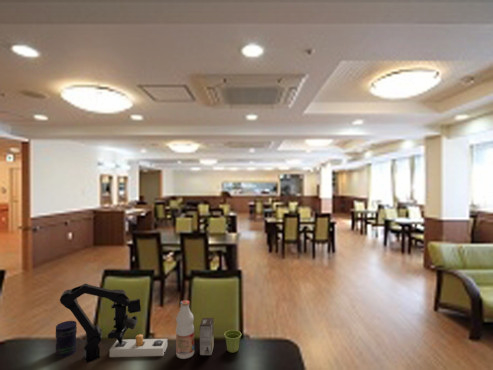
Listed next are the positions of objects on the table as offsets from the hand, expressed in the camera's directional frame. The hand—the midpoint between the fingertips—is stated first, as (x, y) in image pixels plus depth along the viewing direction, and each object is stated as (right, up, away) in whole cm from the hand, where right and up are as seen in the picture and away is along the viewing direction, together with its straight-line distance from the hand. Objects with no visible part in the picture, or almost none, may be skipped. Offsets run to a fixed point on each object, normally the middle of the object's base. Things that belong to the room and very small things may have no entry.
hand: (120, 343), depth 163 cm
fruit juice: (+36, -5, -3) cm, 36 cm away
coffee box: (+47, -5, +1) cm, 47 cm away
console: (+10, -5, 0) cm, 11 cm away
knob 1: (0, -3, 0) cm, 3 cm away
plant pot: (+61, -5, +1) cm, 61 cm away
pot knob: (+10, -1, 0) cm, 10 cm away
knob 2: (+20, -3, +1) cm, 20 cm away
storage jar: (-30, -5, 0) cm, 30 cm away
